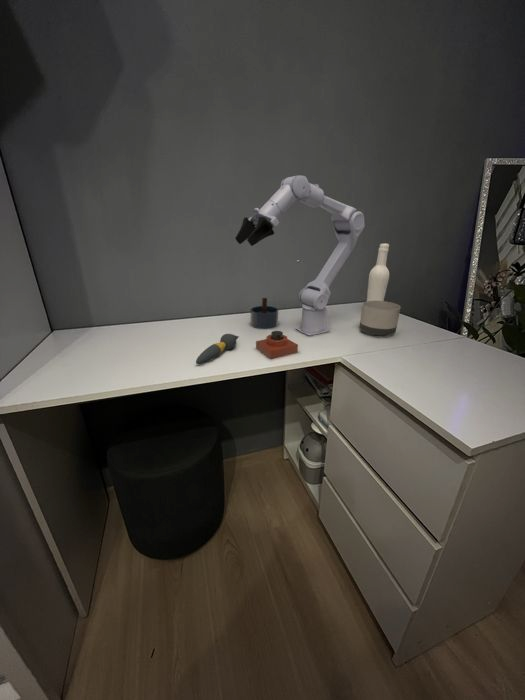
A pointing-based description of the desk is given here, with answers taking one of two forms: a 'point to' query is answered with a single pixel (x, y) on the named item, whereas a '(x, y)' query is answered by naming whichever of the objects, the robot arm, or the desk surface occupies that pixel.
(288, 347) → the knobbed square stamp
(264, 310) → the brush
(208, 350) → the paintbrush
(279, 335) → the pump button
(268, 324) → the dark blue round bowl
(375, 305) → the planter
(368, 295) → the bottle
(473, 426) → the desk surface
